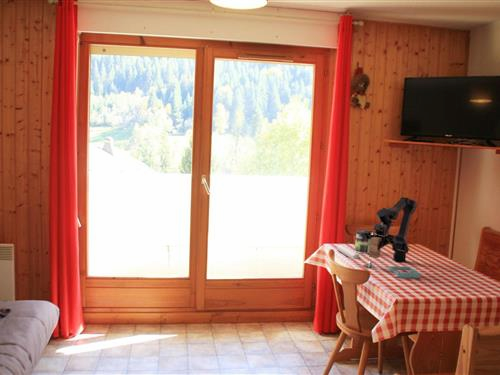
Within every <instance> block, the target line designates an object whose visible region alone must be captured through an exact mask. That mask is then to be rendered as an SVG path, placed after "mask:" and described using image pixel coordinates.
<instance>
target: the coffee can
mask: <svg viewBox="0 0 500 375" xmlns="http://www.w3.org/2000/svg"><path fill="white" fill-rule="evenodd" d="M365 230H366V229H356V231H355V232H356V234H355V245H354V246H355V247H354V252H355V253H357V252H358V253H357V254H361V255H363V254H368V255H369V254H370V239H366V237H365V235H364V231H365Z"/></svg>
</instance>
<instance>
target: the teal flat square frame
mask: <svg viewBox="0 0 500 375" xmlns="http://www.w3.org/2000/svg"><path fill="white" fill-rule="evenodd" d="M397 270H398V271H397ZM399 270H401V271H404V270H405V271H407V270H409V271H410V272H399ZM388 271H391V272H392V273H393V274H395V275H396V278H397V279H421V272H420V271H418V270H417V269H415V268H412V266H392V265H391V266H390V265H389V266H388Z"/></svg>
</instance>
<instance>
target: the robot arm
mask: <svg viewBox="0 0 500 375" xmlns="http://www.w3.org/2000/svg"><path fill="white" fill-rule="evenodd" d="M417 208H418V203H417V201H416V200H414V199H411V198H409V197H404V196H402V197H400V198H399V200H398V201H397V202H396V203H394V205H393V206H391V207H388V208H386V207H382V208H380V209H379V210H377V212H376V216H377V218H378V220H379V221H380V222H381V223H380V224H377V223H374V225H373V227H372V230H374V232H373V231H372V230H369V229H364V230H365V231H364V235H365V237H366V239H370V241H371V238H372V237H377V238H381V242H380V244H379V246H378V250H379V249H381V250H382V248H384V247H385V246H387V245H390V244H391V247H392V248H391V249H392V251H394V252H393V256H392V261H393V260H394V261H395V262H396V263H407V260H406V258H407V256H406V255H407V253H409V250H410V248H409V246H408V239H407V234H408V229H409V226H410V223H411V222H410V221H411V218H412V215H413V214H414V213H415V212H416V210H417ZM401 211H403V214H402V217H401V221H400V225H399V228H398V233H397V235H394V234H390V229H391V228H392V227H393V225H394V223H393V221H396V220H397V219H398V217H399V214H400V212H401Z"/></svg>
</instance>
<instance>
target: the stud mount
mask: <svg viewBox="0 0 500 375" xmlns="http://www.w3.org/2000/svg"><path fill="white" fill-rule="evenodd" d="M362 267H364V268H365V269H367V270H368V269H370V270H371V269H375V270H378V269H379V268H378V267H376V266H375V265H373V262H372V261H368V263H367V264H365V265H364V264H362Z"/></svg>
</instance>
